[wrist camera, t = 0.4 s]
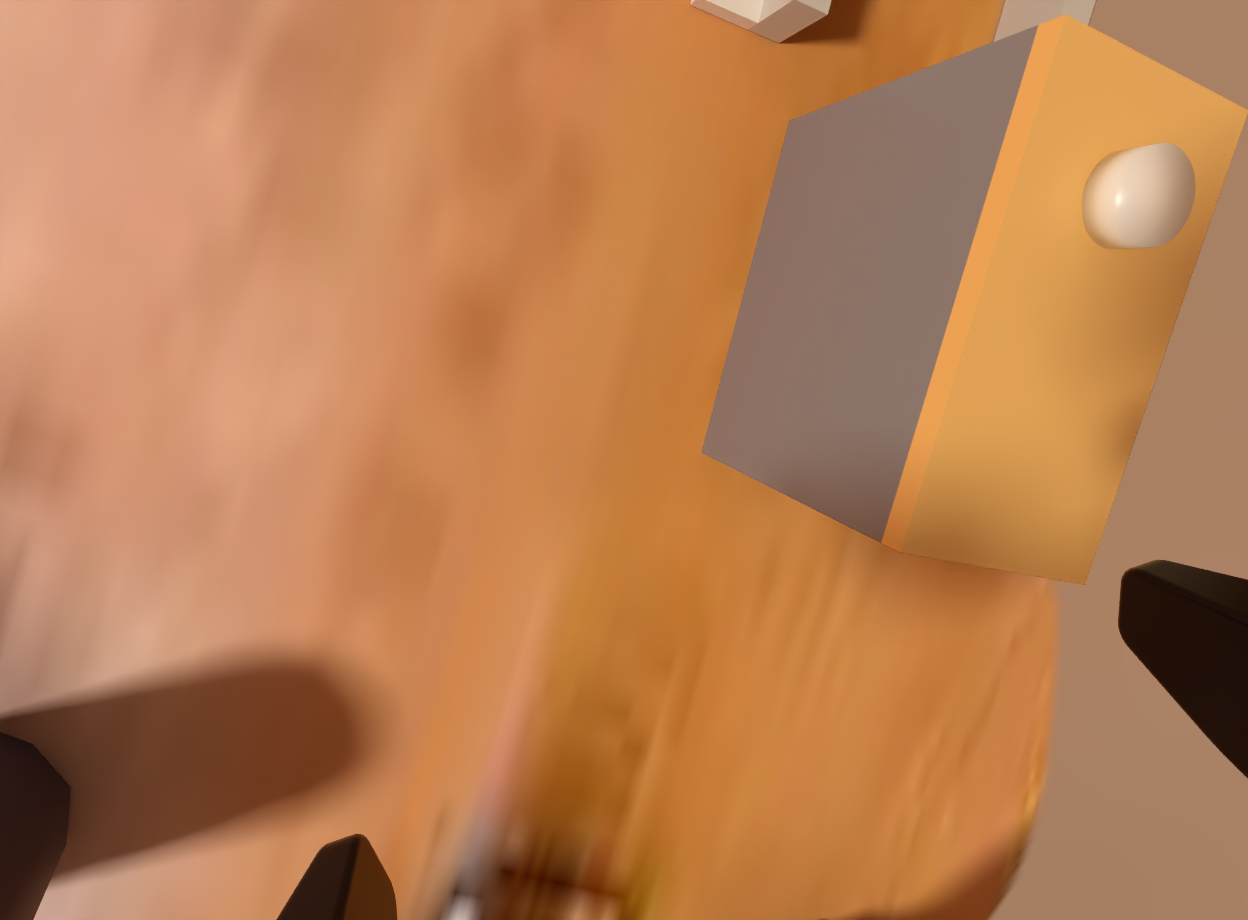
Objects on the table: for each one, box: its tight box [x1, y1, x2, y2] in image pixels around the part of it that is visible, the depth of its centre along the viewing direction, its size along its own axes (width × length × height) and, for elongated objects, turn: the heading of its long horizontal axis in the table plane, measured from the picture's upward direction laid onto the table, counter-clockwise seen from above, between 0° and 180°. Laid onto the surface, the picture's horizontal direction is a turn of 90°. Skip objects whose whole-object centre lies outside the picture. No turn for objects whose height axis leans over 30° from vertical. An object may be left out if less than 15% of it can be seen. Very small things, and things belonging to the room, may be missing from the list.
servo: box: [701, 14, 1248, 585], centre depth 19 cm, size 10×5×10 cm, turn 165°
